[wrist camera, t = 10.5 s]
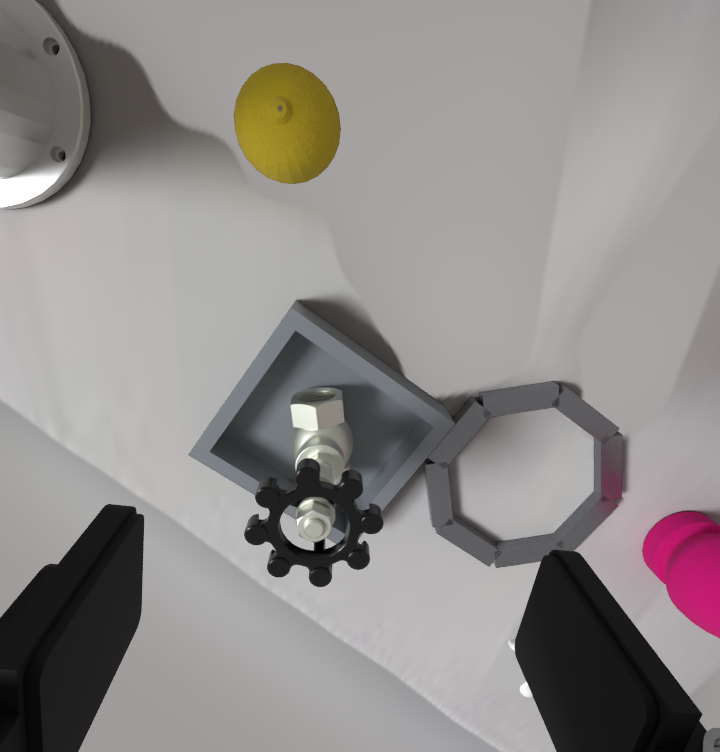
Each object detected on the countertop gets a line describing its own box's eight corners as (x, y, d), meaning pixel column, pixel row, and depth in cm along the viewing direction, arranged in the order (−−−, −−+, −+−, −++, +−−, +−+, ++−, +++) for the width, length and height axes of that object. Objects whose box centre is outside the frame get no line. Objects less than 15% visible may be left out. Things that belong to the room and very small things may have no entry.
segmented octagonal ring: (388, 495, 36) (389, 502, 35) (513, 346, 33) (518, 350, 32) (526, 585, 39) (531, 593, 38) (653, 455, 36) (662, 461, 35)
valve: (283, 474, 35) (254, 594, 23) (270, 389, 33) (232, 474, 21) (372, 466, 35) (388, 581, 23) (365, 381, 33) (378, 460, 21)
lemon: (325, 202, 30) (319, 191, 22) (240, 171, 29) (204, 149, 22) (352, 110, 29) (356, 65, 21) (263, 76, 28) (234, 16, 20)
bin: (203, 433, 34) (188, 454, 31) (296, 299, 32) (291, 307, 28) (347, 522, 37) (348, 551, 33) (444, 405, 34) (455, 423, 31)
